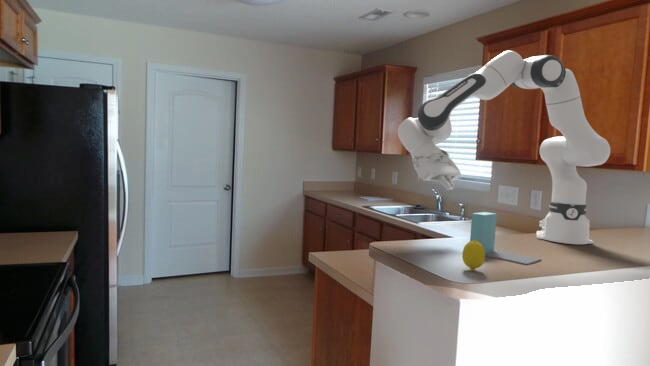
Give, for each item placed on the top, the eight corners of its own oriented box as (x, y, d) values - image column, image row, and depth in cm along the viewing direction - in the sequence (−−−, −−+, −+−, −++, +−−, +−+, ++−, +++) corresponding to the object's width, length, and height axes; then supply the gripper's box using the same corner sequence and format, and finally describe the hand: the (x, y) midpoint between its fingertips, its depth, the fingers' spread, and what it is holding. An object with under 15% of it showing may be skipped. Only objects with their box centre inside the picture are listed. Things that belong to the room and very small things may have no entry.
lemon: (465, 266, 117) (467, 236, 117) (486, 270, 114) (488, 240, 114) (458, 270, 113) (460, 239, 112) (480, 274, 110) (482, 243, 109)
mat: (482, 255, 132) (482, 254, 132) (498, 251, 139) (498, 250, 139) (526, 265, 123) (526, 263, 123) (541, 260, 129) (541, 259, 129)
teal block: (469, 251, 136) (472, 213, 136) (482, 248, 142) (484, 211, 141) (481, 254, 134) (484, 215, 133) (493, 251, 139) (496, 213, 138)
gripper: (415, 149, 143) (439, 182, 137) (450, 152, 157) (473, 182, 150) (403, 162, 147) (426, 195, 140) (438, 164, 161) (460, 193, 154)
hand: (451, 188), depth 145 cm, fingers closed
